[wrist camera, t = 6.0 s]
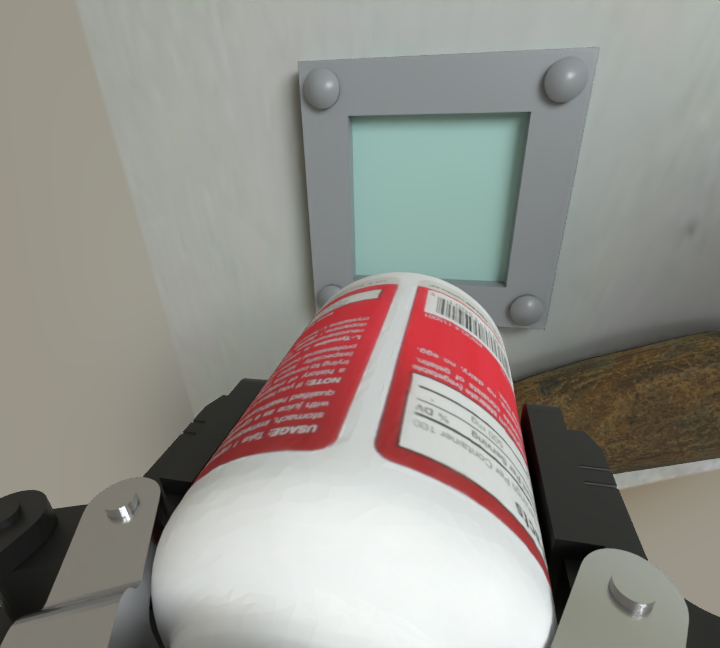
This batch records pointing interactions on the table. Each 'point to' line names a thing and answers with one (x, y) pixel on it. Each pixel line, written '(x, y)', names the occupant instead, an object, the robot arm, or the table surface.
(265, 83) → the table surface
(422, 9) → the table surface
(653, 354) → the brown textured cylinder
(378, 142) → the base plate
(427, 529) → the pill bottle
